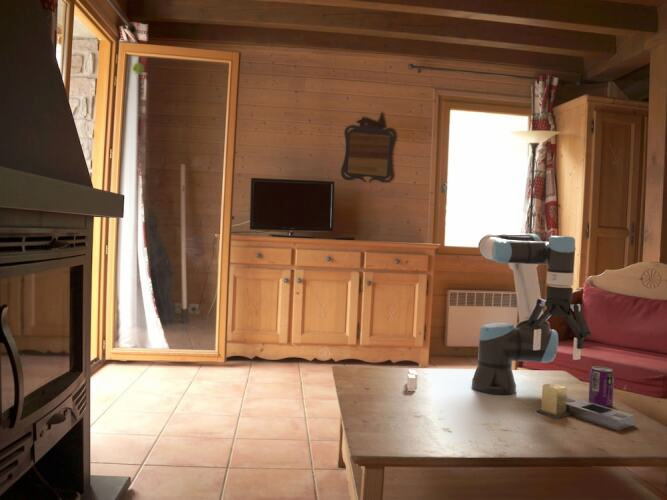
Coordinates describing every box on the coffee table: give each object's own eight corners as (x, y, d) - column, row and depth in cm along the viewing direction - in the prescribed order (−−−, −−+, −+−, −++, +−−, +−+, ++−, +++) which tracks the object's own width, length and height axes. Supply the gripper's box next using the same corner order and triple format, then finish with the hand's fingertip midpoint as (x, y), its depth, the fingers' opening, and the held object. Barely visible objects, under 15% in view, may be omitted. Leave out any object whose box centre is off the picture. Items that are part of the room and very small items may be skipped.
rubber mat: (536, 411, 163) (536, 410, 163) (550, 408, 167) (550, 406, 167) (557, 418, 157) (557, 416, 157) (570, 415, 161) (570, 413, 161)
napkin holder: (407, 381, 194) (408, 366, 194) (434, 388, 187) (435, 372, 187) (384, 389, 183) (385, 373, 183) (412, 396, 175) (413, 379, 175)
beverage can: (615, 409, 169) (617, 372, 168) (591, 406, 170) (593, 370, 170) (608, 402, 176) (610, 367, 175) (585, 400, 177) (587, 365, 177)
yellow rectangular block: (541, 410, 162) (542, 385, 162) (551, 408, 165) (552, 383, 165) (556, 415, 158) (557, 389, 158) (565, 412, 161) (566, 387, 161)
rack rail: (548, 408, 167) (549, 398, 167) (565, 404, 172) (565, 394, 172) (617, 430, 149) (618, 419, 149) (634, 425, 154) (634, 414, 154)
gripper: (517, 282, 169) (514, 347, 170) (591, 291, 148) (587, 365, 149) (531, 281, 173) (528, 344, 174) (606, 290, 153) (602, 362, 153)
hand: (555, 354), depth 162 cm, fingers open, 13 cm apart
